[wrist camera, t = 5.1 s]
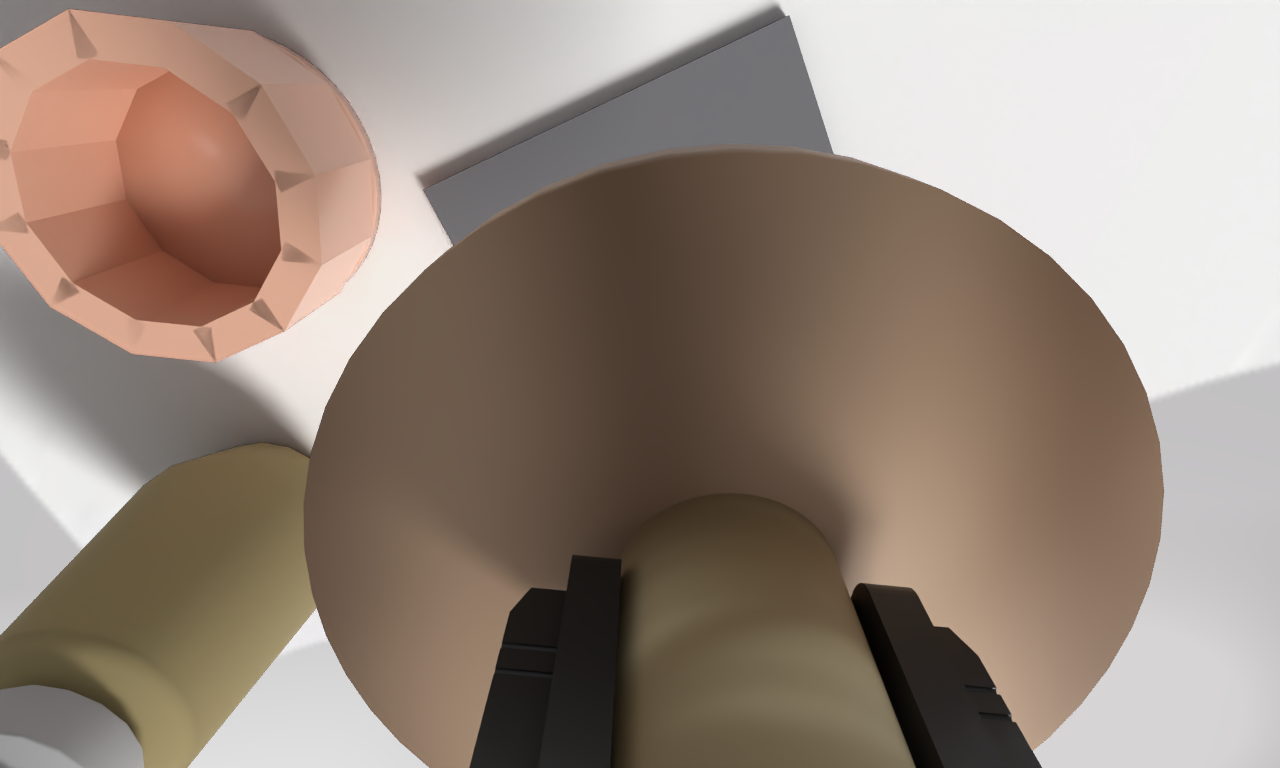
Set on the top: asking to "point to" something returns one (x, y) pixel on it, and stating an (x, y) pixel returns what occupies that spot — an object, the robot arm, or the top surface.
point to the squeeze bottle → (161, 618)
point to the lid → (735, 458)
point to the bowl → (179, 181)
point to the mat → (653, 125)
